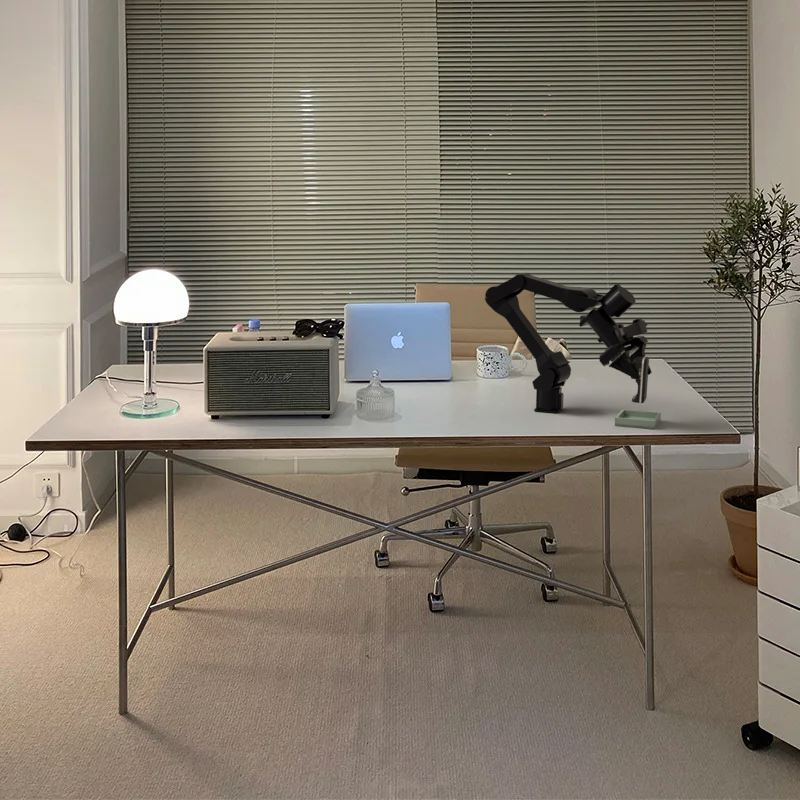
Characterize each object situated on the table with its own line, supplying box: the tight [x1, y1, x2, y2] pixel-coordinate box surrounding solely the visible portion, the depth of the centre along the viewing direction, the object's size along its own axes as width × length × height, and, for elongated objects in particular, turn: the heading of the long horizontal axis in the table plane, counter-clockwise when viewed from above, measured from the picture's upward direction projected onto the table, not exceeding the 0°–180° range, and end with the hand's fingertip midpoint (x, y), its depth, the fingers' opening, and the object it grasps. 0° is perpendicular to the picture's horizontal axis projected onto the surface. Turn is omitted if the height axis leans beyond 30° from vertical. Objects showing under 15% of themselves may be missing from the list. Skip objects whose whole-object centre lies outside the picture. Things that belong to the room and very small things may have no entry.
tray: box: [614, 409, 662, 430], centre depth 269 cm, size 10×10×2 cm
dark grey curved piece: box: [630, 355, 650, 404], centre depth 266 cm, size 7×4×11 cm, turn 161°
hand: (644, 376), depth 265 cm, fingers closed on dark grey curved piece, 7 cm apart
